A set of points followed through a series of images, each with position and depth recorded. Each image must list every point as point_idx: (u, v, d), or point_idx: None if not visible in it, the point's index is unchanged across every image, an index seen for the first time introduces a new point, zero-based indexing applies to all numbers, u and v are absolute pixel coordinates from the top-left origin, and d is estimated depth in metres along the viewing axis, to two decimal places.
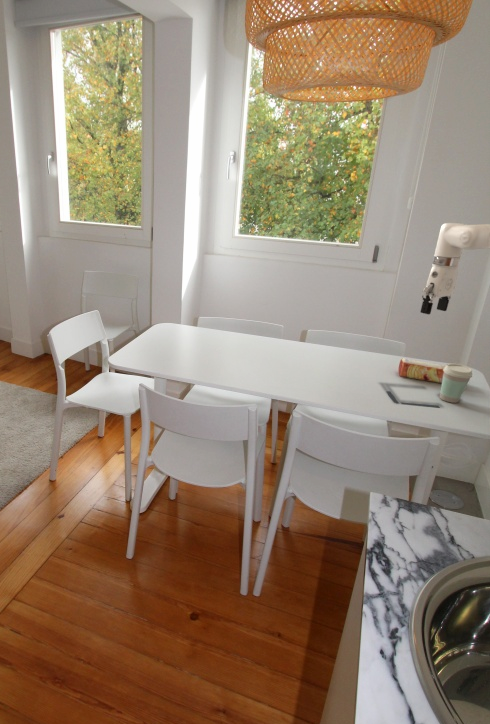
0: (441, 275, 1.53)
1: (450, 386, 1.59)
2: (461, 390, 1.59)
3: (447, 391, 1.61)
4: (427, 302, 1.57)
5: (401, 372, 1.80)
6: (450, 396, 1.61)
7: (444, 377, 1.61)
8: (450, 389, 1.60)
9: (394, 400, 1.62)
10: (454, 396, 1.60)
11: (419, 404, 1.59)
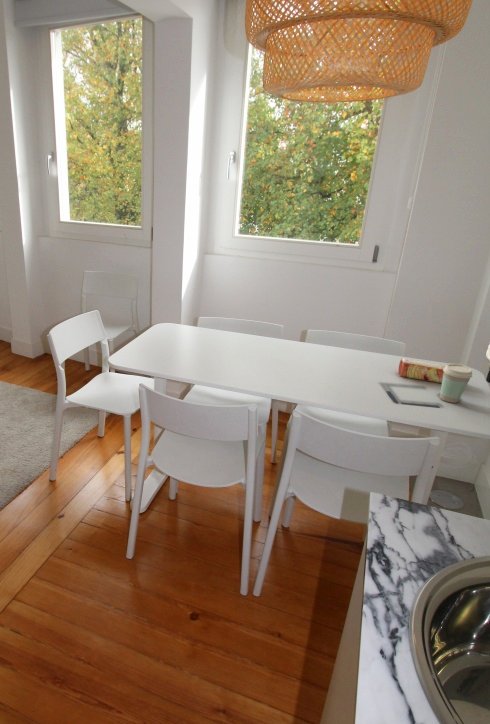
0: None
1: (450, 386, 1.59)
2: (461, 390, 1.59)
3: (447, 391, 1.61)
4: None
5: (401, 372, 1.80)
6: (450, 396, 1.61)
7: (444, 377, 1.61)
8: (450, 389, 1.60)
9: (394, 400, 1.62)
10: (454, 396, 1.60)
11: (419, 404, 1.59)
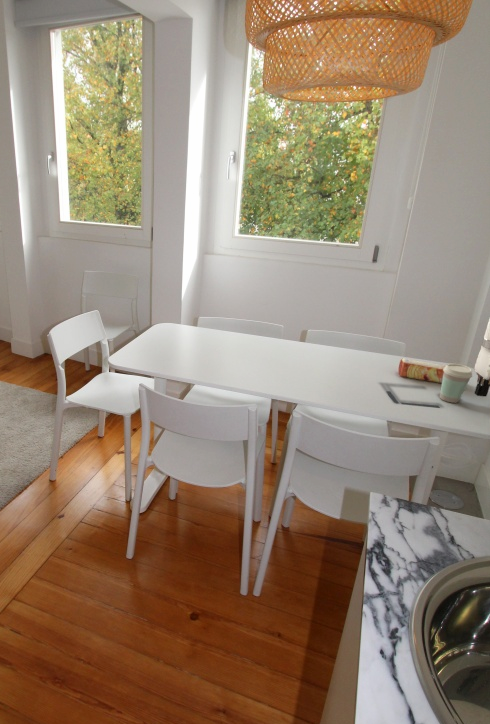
0: None
1: (450, 386, 1.59)
2: (461, 390, 1.59)
3: (447, 391, 1.61)
4: None
5: (401, 372, 1.80)
6: (450, 396, 1.61)
7: (444, 377, 1.61)
8: (450, 389, 1.60)
9: (394, 400, 1.62)
10: (454, 396, 1.60)
11: (419, 404, 1.59)
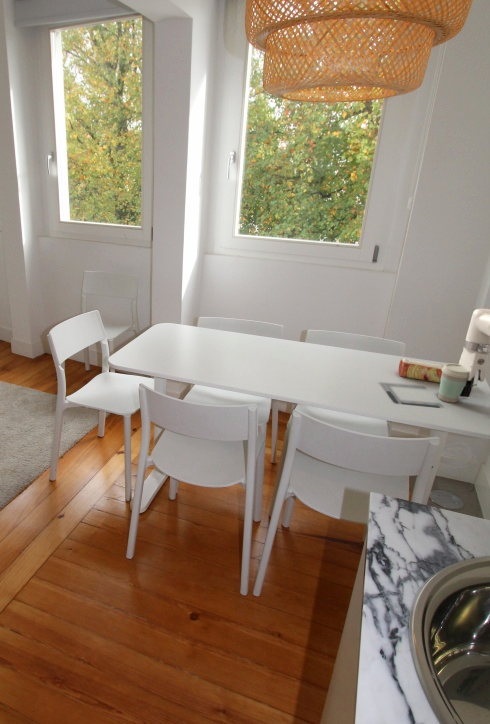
0: (487, 361, 1.53)
1: (449, 386, 1.59)
2: (460, 390, 1.59)
3: (446, 391, 1.61)
4: None
5: (401, 372, 1.80)
6: (448, 395, 1.61)
7: (442, 377, 1.61)
8: (448, 389, 1.60)
9: (394, 400, 1.62)
10: (453, 396, 1.60)
11: (419, 404, 1.59)
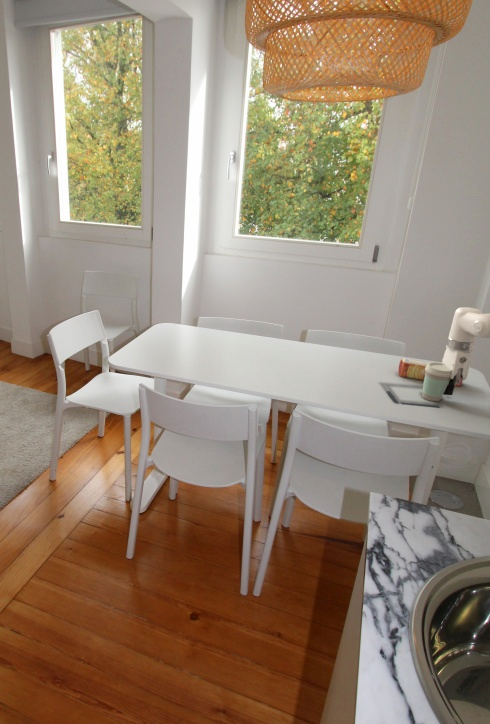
0: (469, 360, 1.54)
1: (433, 385, 1.60)
2: (443, 388, 1.60)
3: (430, 390, 1.61)
4: None
5: (401, 372, 1.79)
6: (432, 394, 1.61)
7: (426, 376, 1.61)
8: (432, 388, 1.60)
9: (394, 400, 1.62)
10: (437, 395, 1.61)
11: (419, 404, 1.59)
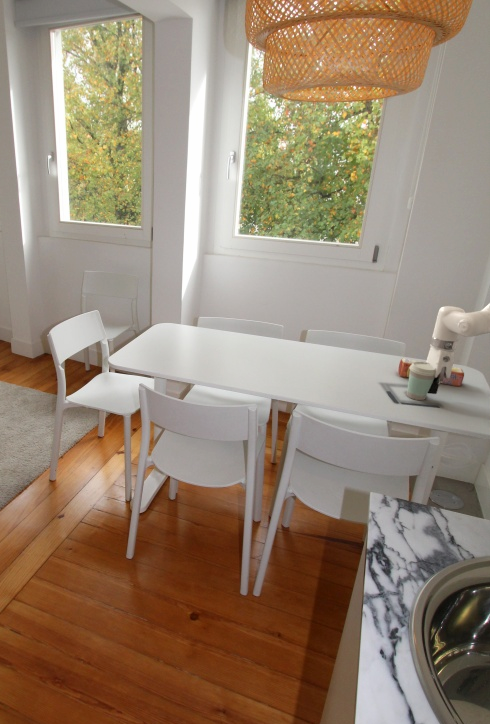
0: (453, 359, 1.55)
1: (417, 384, 1.61)
2: (428, 387, 1.61)
3: (415, 389, 1.62)
4: None
5: (401, 372, 1.79)
6: (417, 393, 1.62)
7: (411, 375, 1.62)
8: (417, 387, 1.61)
9: (394, 400, 1.62)
10: (421, 394, 1.62)
11: (419, 404, 1.59)
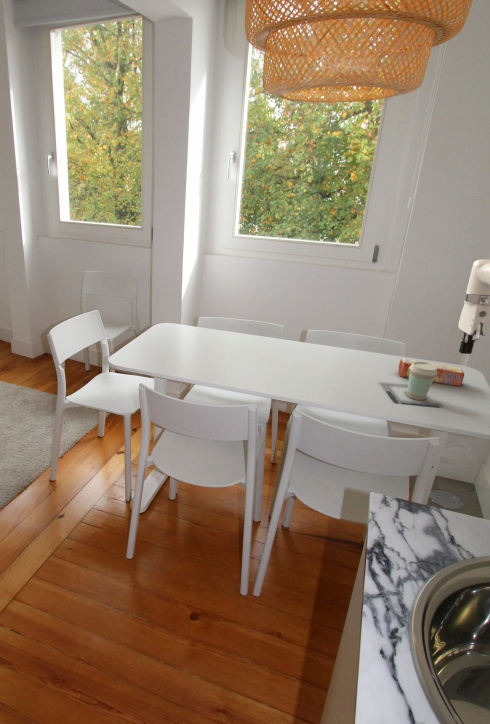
0: (489, 314, 1.47)
1: (417, 384, 1.61)
2: (428, 387, 1.61)
3: (415, 389, 1.62)
4: None
5: (401, 372, 1.79)
6: (417, 393, 1.62)
7: (411, 375, 1.62)
8: (417, 387, 1.61)
9: (394, 400, 1.62)
10: (421, 394, 1.62)
11: (419, 404, 1.59)
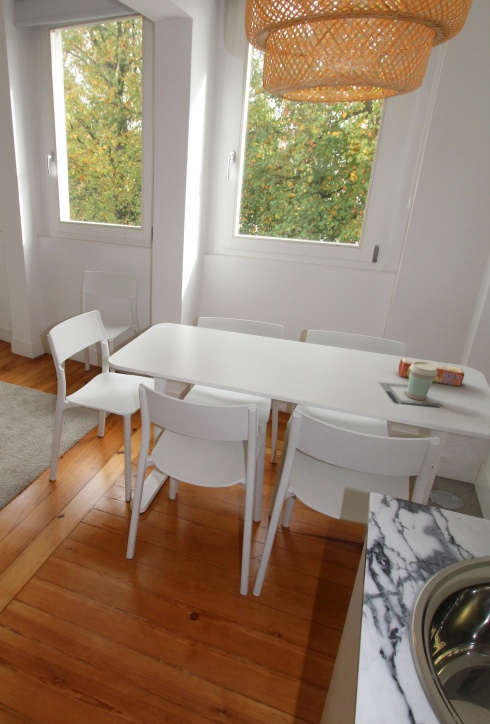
0: None
1: (417, 384, 1.61)
2: (428, 387, 1.61)
3: (415, 389, 1.62)
4: None
5: (401, 372, 1.79)
6: (417, 393, 1.62)
7: (411, 375, 1.62)
8: (417, 387, 1.61)
9: (394, 400, 1.62)
10: (421, 394, 1.62)
11: (419, 404, 1.59)
